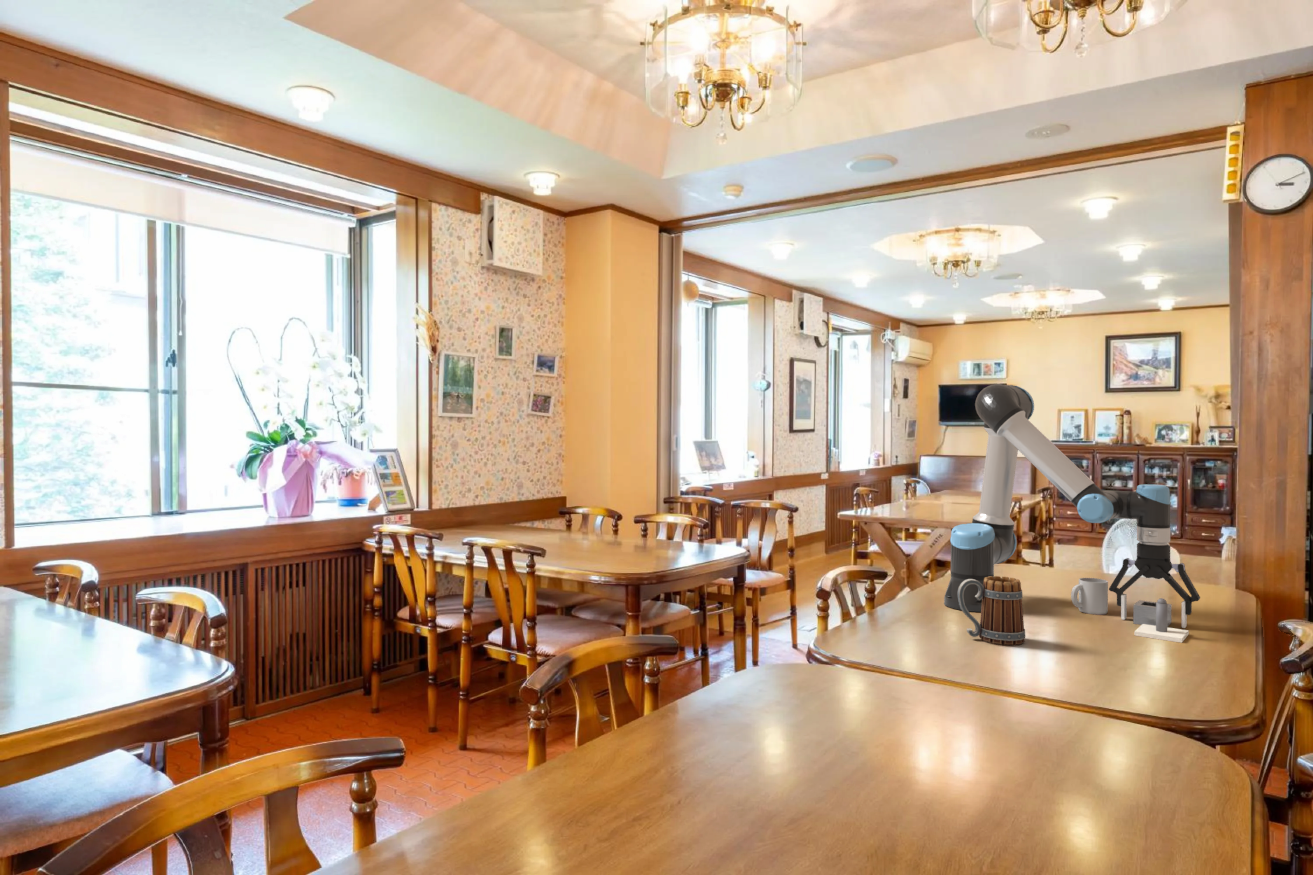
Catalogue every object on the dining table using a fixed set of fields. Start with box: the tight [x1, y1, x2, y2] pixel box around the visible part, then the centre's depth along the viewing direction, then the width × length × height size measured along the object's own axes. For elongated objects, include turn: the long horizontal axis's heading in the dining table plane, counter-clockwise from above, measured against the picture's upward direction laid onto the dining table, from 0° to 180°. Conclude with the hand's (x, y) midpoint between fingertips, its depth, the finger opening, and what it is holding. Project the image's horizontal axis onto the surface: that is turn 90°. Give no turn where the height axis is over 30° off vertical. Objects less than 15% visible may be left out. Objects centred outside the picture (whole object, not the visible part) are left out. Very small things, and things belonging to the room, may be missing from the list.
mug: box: [958, 575, 1026, 647], centre depth 194 cm, size 16×11×15 cm
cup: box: [1070, 577, 1109, 616], centre depth 223 cm, size 7×10×9 cm
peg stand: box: [1134, 597, 1190, 643], centre depth 198 cm, size 10×10×9 cm
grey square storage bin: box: [1132, 599, 1172, 628], centre depth 210 cm, size 7×7×5 cm
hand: (1153, 622), depth 210 cm, fingers open, 13 cm apart
